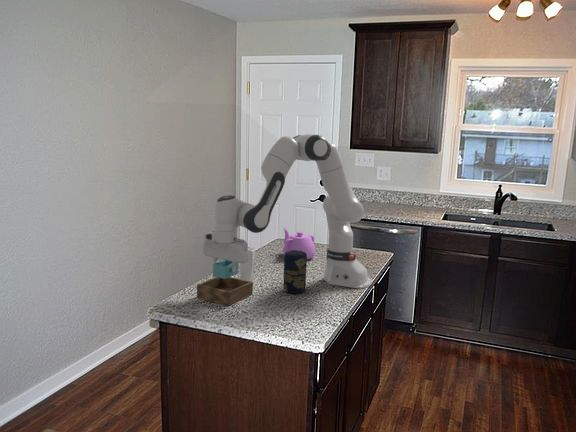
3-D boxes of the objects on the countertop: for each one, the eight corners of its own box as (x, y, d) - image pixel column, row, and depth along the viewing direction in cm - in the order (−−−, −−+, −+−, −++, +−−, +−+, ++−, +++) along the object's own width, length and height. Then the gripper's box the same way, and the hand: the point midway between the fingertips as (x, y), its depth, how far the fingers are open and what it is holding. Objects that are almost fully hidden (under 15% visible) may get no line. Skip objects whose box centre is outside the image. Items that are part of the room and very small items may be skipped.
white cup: (251, 284, 219) (252, 251, 216) (236, 282, 220) (237, 249, 218) (255, 279, 226) (256, 247, 223) (241, 278, 227) (241, 246, 224)
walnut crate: (252, 294, 206) (252, 281, 205) (229, 306, 192) (229, 292, 191) (221, 287, 214) (221, 274, 213) (197, 297, 200) (197, 284, 199)
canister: (289, 296, 206) (291, 254, 203) (279, 289, 214) (280, 248, 211) (309, 293, 210) (311, 251, 207) (298, 286, 219) (300, 246, 215)
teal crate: (238, 273, 204) (238, 261, 203) (225, 279, 196) (225, 266, 196) (226, 270, 207) (226, 259, 206) (212, 276, 199) (213, 264, 198)
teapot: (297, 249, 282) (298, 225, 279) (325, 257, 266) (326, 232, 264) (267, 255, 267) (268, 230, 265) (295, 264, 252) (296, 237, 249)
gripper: (252, 238, 196) (251, 272, 199) (210, 231, 206) (210, 263, 209) (242, 241, 191) (241, 276, 193) (200, 234, 201) (200, 267, 203)
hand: (225, 269), depth 201 cm, fingers closed on teal crate, 6 cm apart
